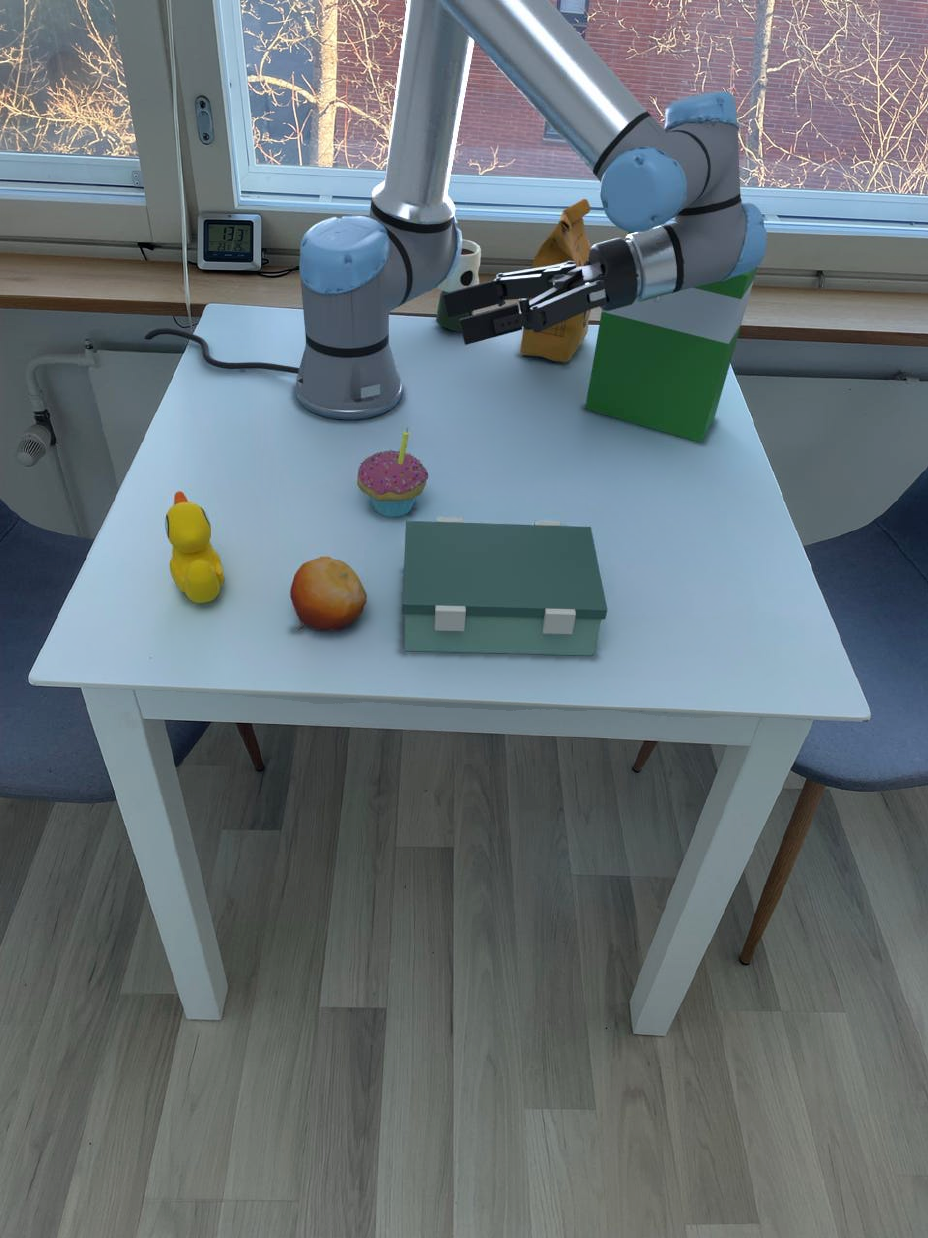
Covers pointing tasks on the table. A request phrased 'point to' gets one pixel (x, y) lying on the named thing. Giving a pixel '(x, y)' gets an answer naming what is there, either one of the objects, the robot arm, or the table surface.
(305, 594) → the fruit
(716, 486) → the table surface
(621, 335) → the hardback book
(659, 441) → the table surface
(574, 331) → the coffee package
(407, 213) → the robot arm
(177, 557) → the duckling
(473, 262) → the character mug
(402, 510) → the cupcake
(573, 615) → the lunchbox
